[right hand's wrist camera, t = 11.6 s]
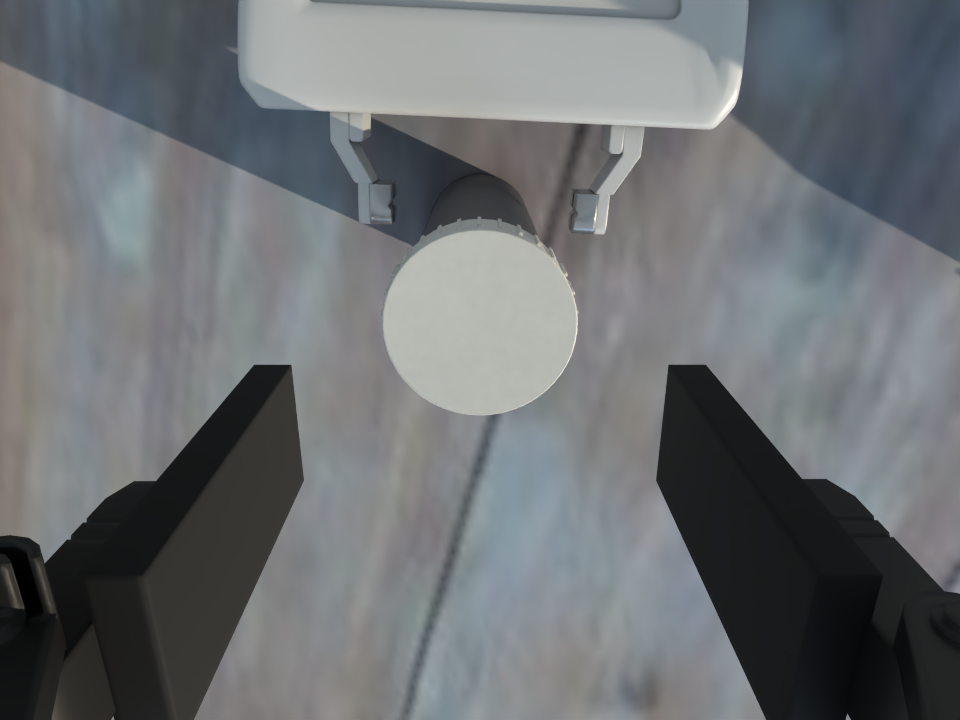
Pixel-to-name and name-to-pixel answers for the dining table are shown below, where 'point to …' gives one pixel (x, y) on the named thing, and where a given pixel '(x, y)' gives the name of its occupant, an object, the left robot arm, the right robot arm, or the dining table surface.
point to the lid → (479, 317)
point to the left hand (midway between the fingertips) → (482, 227)
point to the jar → (479, 203)
